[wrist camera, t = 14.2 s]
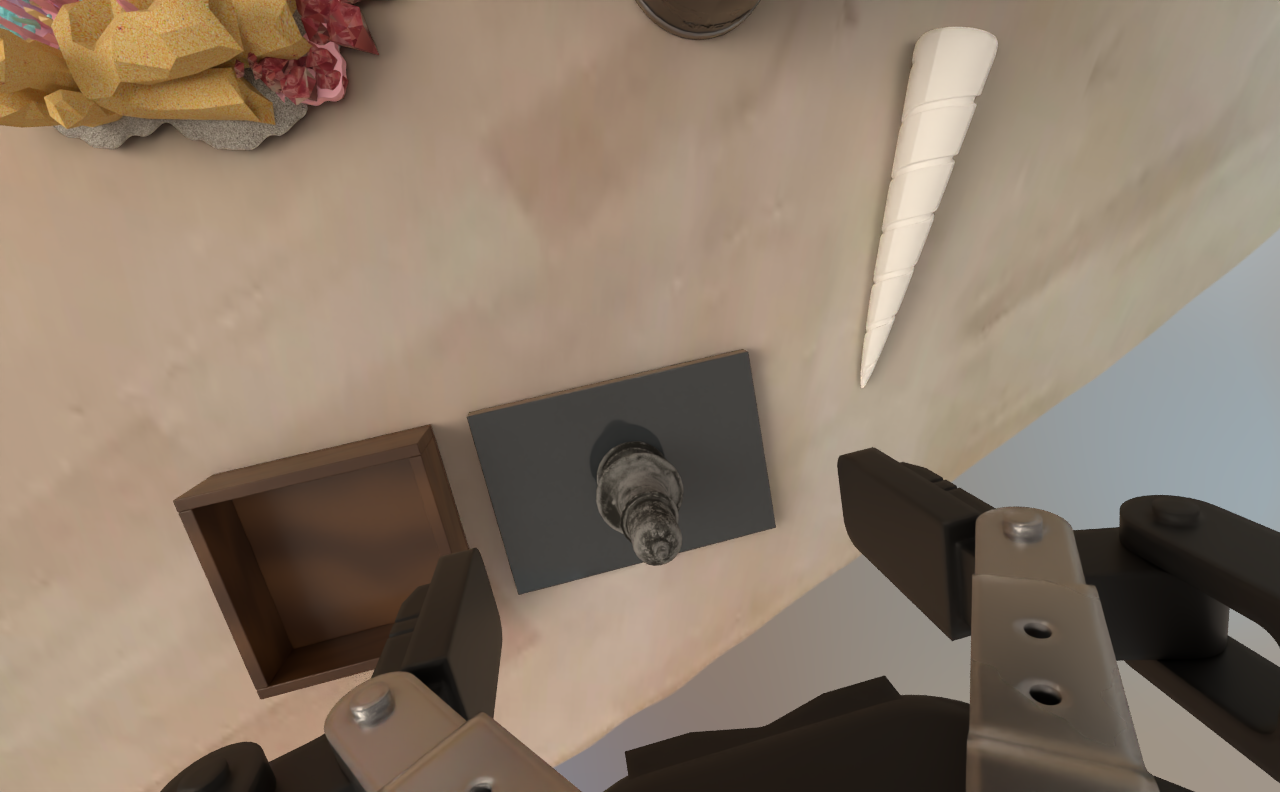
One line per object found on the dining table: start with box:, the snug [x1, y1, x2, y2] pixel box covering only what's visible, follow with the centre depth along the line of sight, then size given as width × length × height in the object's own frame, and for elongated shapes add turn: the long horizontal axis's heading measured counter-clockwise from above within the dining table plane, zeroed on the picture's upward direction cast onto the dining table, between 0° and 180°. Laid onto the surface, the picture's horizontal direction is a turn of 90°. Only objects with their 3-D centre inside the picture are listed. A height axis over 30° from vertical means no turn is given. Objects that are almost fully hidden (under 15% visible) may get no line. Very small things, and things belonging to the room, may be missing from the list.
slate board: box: [467, 349, 776, 595], centre depth 44 cm, size 14×20×1 cm
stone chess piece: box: [596, 441, 684, 566], centre depth 37 cm, size 6×6×12 cm
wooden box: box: [173, 424, 469, 699], centre depth 40 cm, size 15×15×4 cm
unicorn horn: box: [860, 26, 998, 388], centre depth 40 cm, size 5×24×5 cm, turn 168°
